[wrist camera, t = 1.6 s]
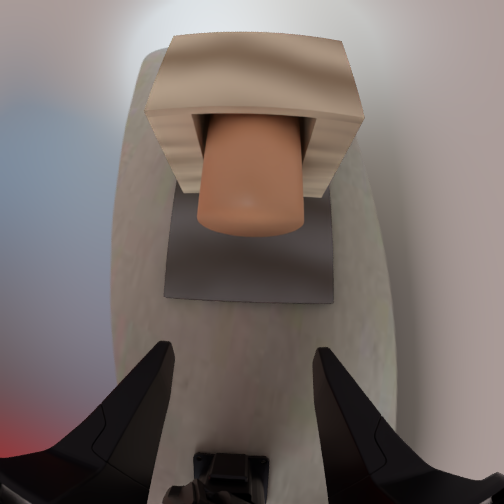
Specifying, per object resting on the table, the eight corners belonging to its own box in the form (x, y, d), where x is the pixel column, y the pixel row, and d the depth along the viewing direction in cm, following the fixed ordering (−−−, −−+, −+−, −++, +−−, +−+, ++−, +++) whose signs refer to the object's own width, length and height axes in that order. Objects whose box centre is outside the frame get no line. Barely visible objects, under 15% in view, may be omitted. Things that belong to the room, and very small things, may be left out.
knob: (295, 238, 19) (314, 203, 13) (205, 235, 19) (187, 199, 13) (293, 150, 20) (306, 97, 15) (214, 148, 20) (204, 94, 15)
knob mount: (330, 303, 23) (402, 286, 11) (167, 297, 23) (93, 275, 11) (320, 125, 27) (349, 36, 15) (190, 121, 27) (166, 31, 15)
